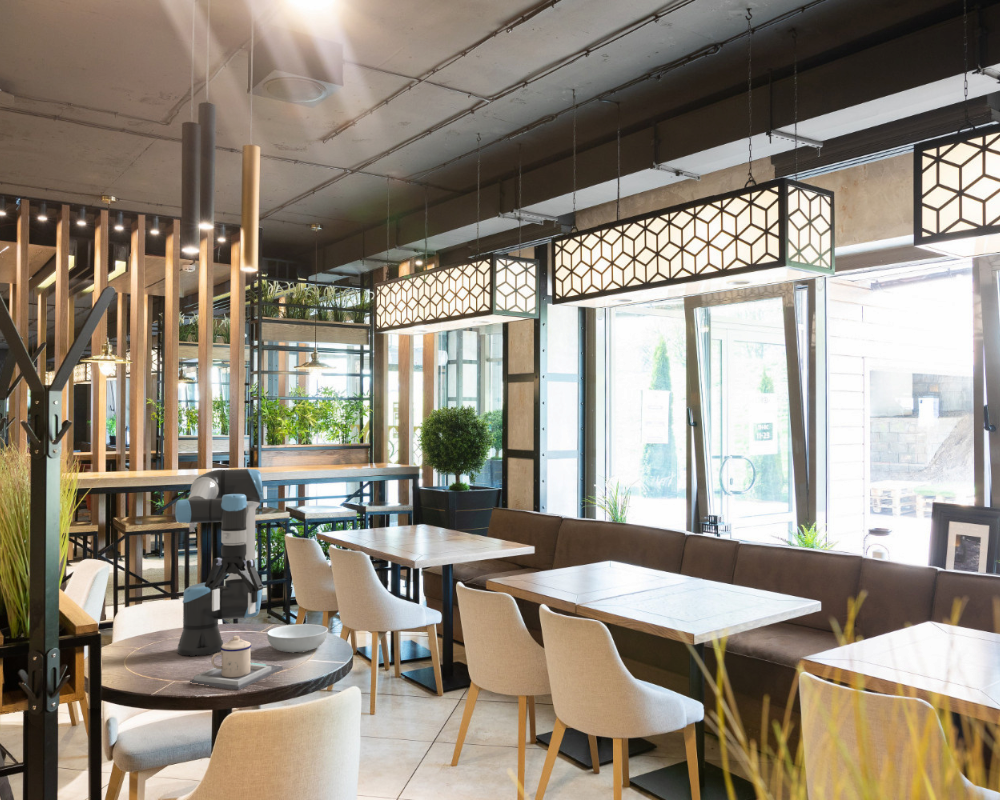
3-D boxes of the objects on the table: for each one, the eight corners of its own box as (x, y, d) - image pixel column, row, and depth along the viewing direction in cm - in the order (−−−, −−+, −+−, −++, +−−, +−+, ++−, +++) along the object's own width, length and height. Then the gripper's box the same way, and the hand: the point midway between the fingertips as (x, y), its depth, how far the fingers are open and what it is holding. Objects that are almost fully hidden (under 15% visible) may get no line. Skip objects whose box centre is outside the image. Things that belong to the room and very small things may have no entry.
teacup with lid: (247, 668, 261) (247, 631, 261) (254, 675, 253) (254, 637, 253) (208, 673, 255) (208, 636, 255) (214, 681, 247) (214, 642, 247)
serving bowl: (339, 649, 286) (339, 629, 286) (286, 661, 271) (286, 641, 272) (308, 639, 301) (308, 620, 301) (256, 650, 286) (256, 630, 286)
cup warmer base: (189, 684, 248) (189, 676, 248) (236, 664, 268) (236, 657, 269) (238, 690, 242) (238, 682, 242) (282, 669, 262) (282, 662, 262)
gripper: (193, 543, 255) (193, 611, 255) (259, 546, 247) (259, 617, 246) (209, 540, 263) (209, 606, 262) (274, 543, 254) (274, 611, 253)
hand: (233, 611), depth 254 cm, fingers open, 13 cm apart
